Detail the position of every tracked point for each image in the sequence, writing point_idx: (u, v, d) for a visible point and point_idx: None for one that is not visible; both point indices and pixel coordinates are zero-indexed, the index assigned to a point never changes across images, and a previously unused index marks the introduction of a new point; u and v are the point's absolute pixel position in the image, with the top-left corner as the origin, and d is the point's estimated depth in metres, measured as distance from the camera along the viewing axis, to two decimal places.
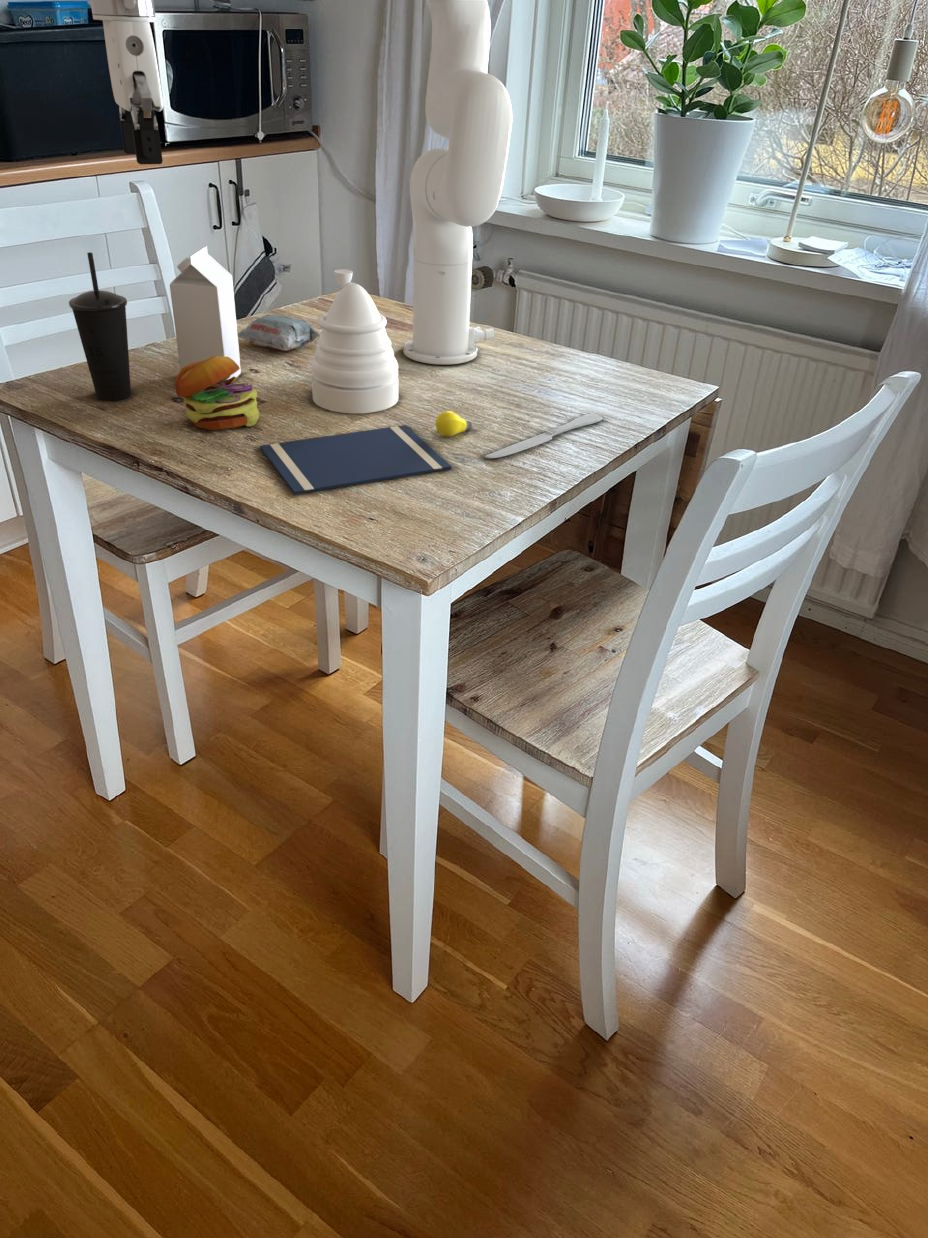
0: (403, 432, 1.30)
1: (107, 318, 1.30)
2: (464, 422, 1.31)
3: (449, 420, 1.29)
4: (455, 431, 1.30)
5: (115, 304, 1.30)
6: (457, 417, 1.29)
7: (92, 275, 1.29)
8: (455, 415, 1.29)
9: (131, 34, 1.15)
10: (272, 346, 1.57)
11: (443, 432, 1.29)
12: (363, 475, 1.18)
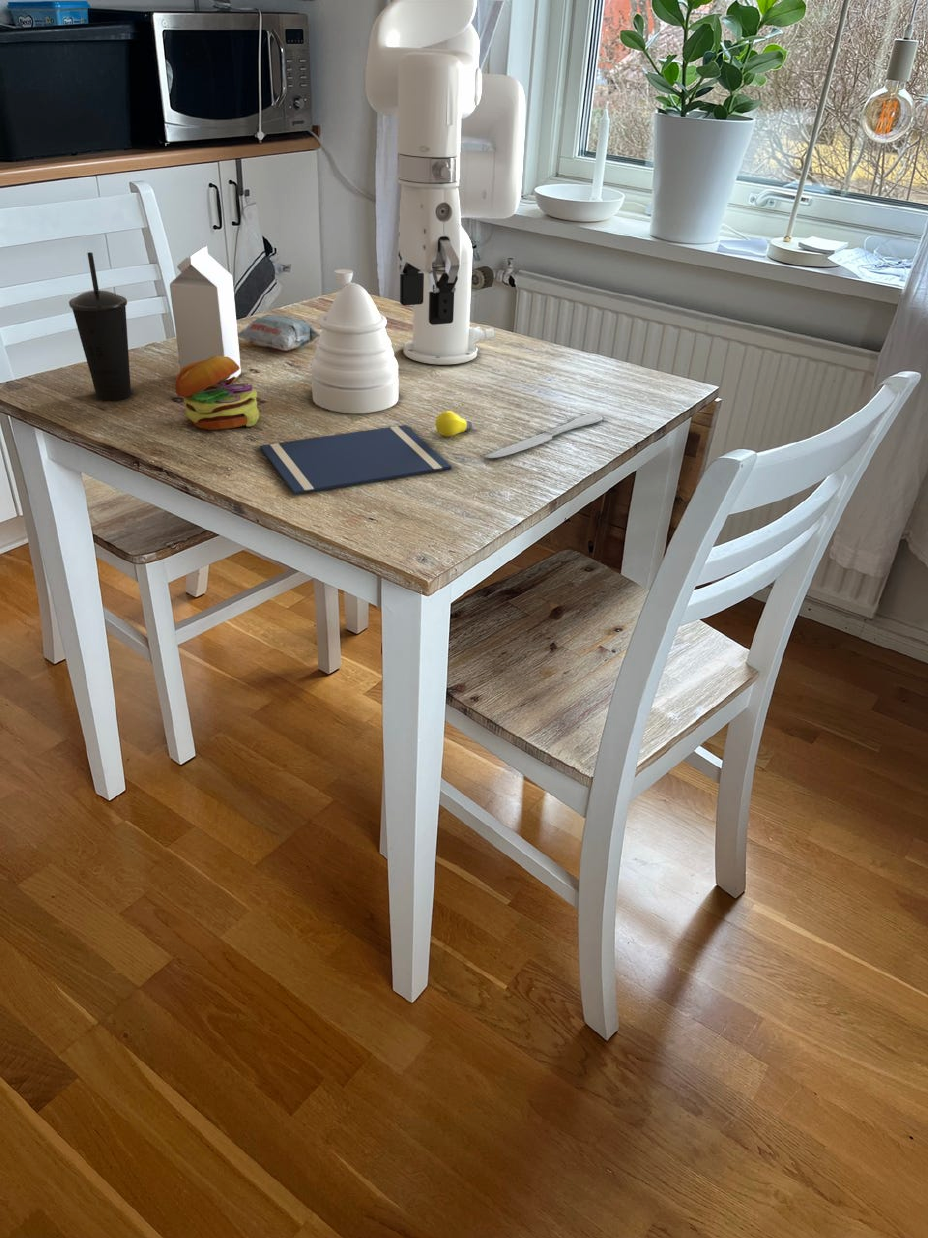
0: (403, 432, 1.30)
1: (107, 318, 1.30)
2: (464, 422, 1.31)
3: (449, 420, 1.29)
4: (455, 431, 1.30)
5: (115, 304, 1.30)
6: (457, 417, 1.29)
7: (92, 275, 1.29)
8: (455, 415, 1.29)
9: (442, 201, 1.13)
10: (272, 346, 1.57)
11: (443, 432, 1.29)
12: (363, 475, 1.18)
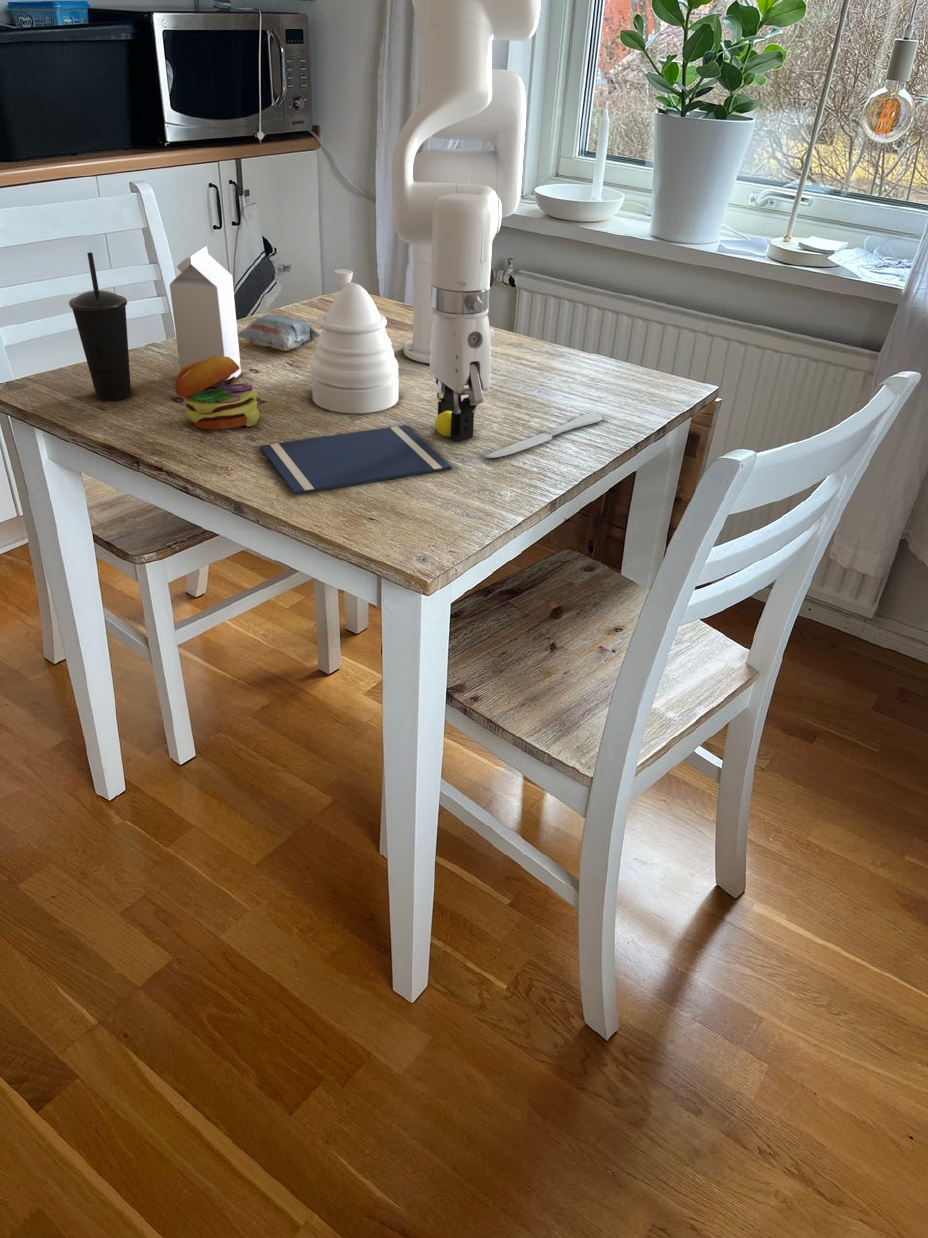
0: (403, 432, 1.30)
1: (107, 318, 1.30)
2: None
3: (448, 420, 1.29)
4: None
5: (115, 304, 1.30)
6: None
7: (92, 275, 1.29)
8: None
9: (473, 330, 1.20)
10: (272, 346, 1.57)
11: (443, 432, 1.29)
12: (363, 475, 1.18)
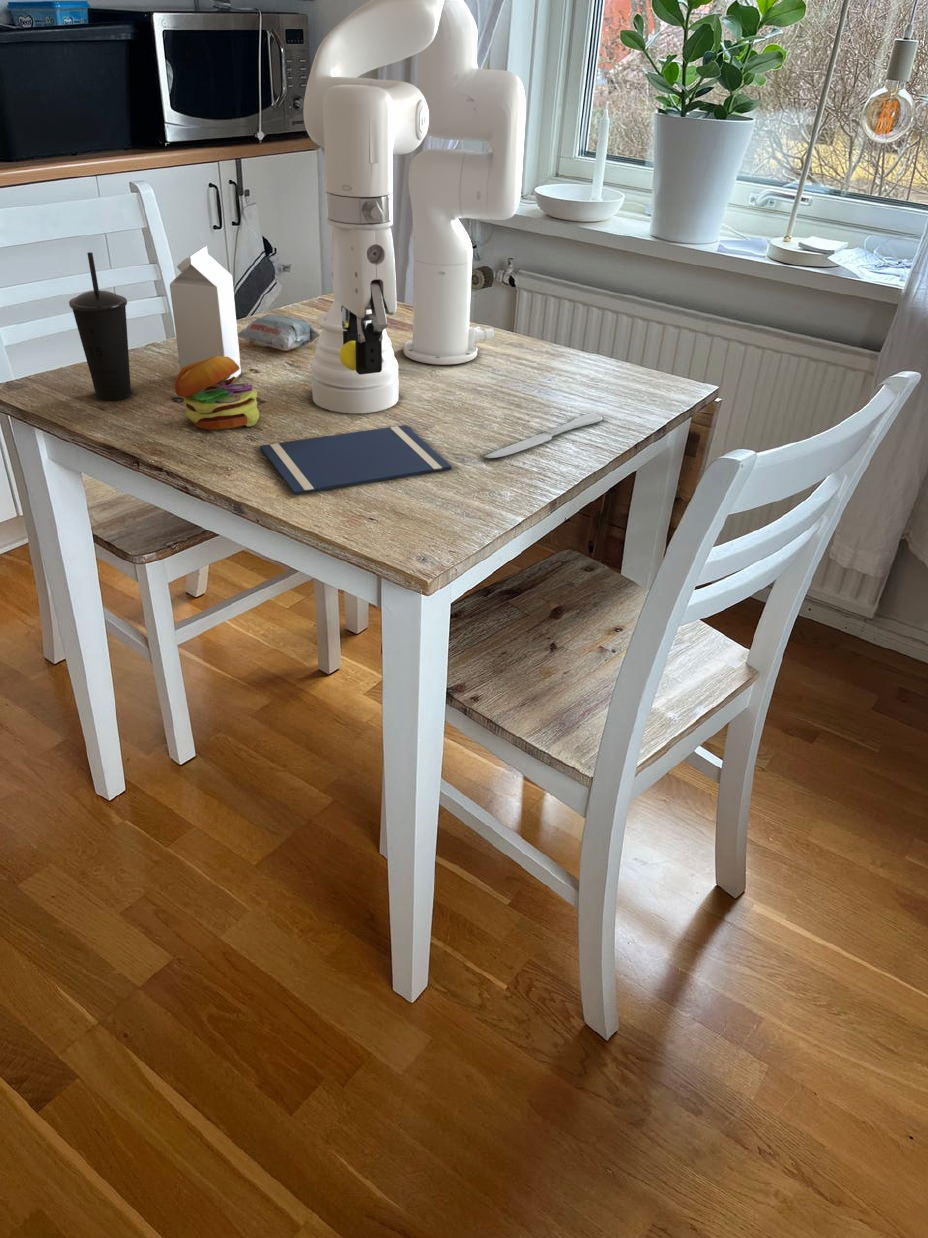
0: (403, 432, 1.30)
1: (107, 318, 1.30)
2: None
3: (353, 351, 1.15)
4: None
5: (115, 304, 1.30)
6: None
7: (92, 275, 1.29)
8: None
9: (373, 243, 1.06)
10: (272, 346, 1.57)
11: (347, 364, 1.15)
12: (363, 475, 1.18)
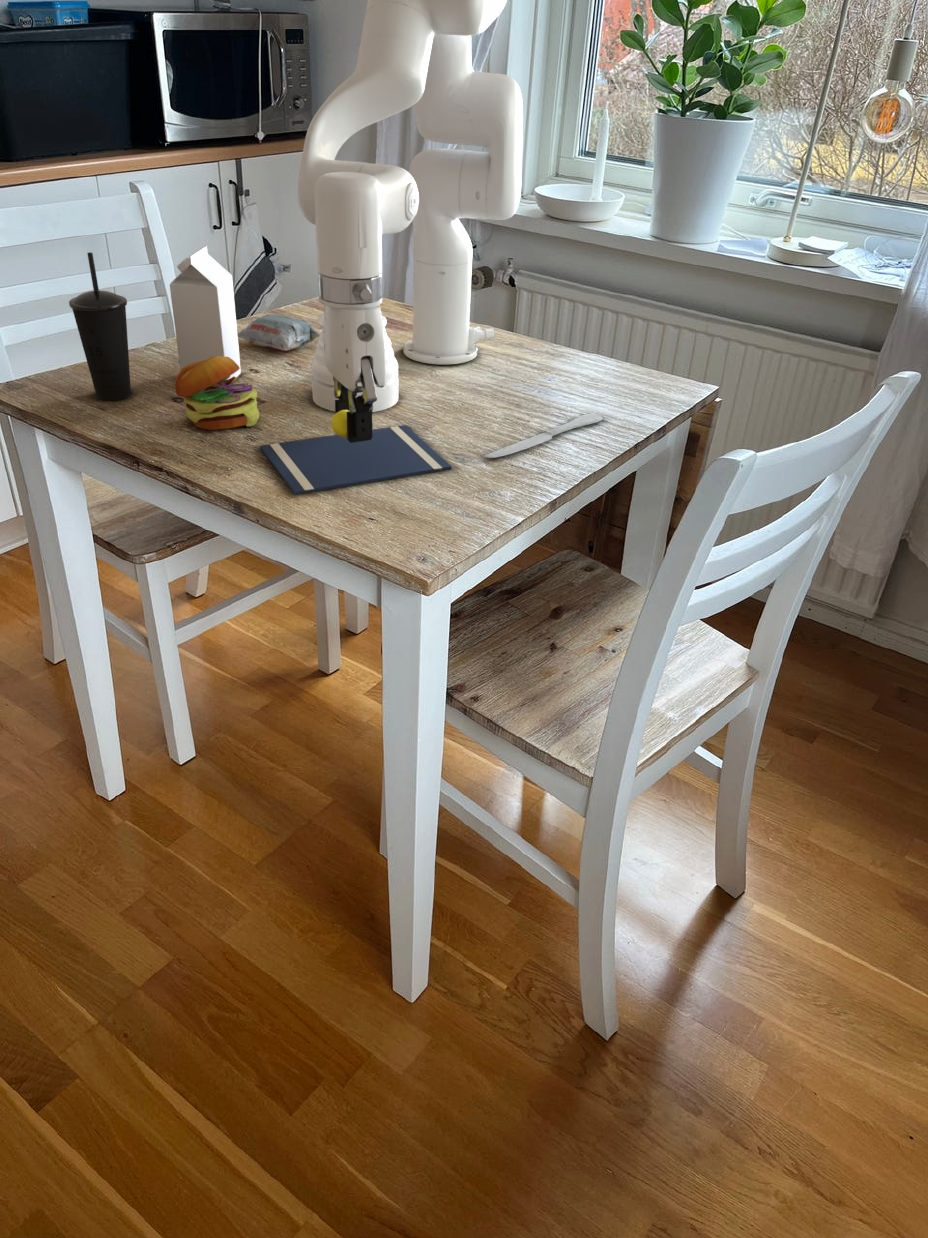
0: (403, 432, 1.30)
1: (107, 318, 1.30)
2: None
3: (344, 420, 1.18)
4: None
5: (115, 304, 1.30)
6: None
7: (92, 275, 1.29)
8: None
9: (363, 322, 1.09)
10: (272, 346, 1.57)
11: (339, 433, 1.19)
12: (363, 475, 1.18)
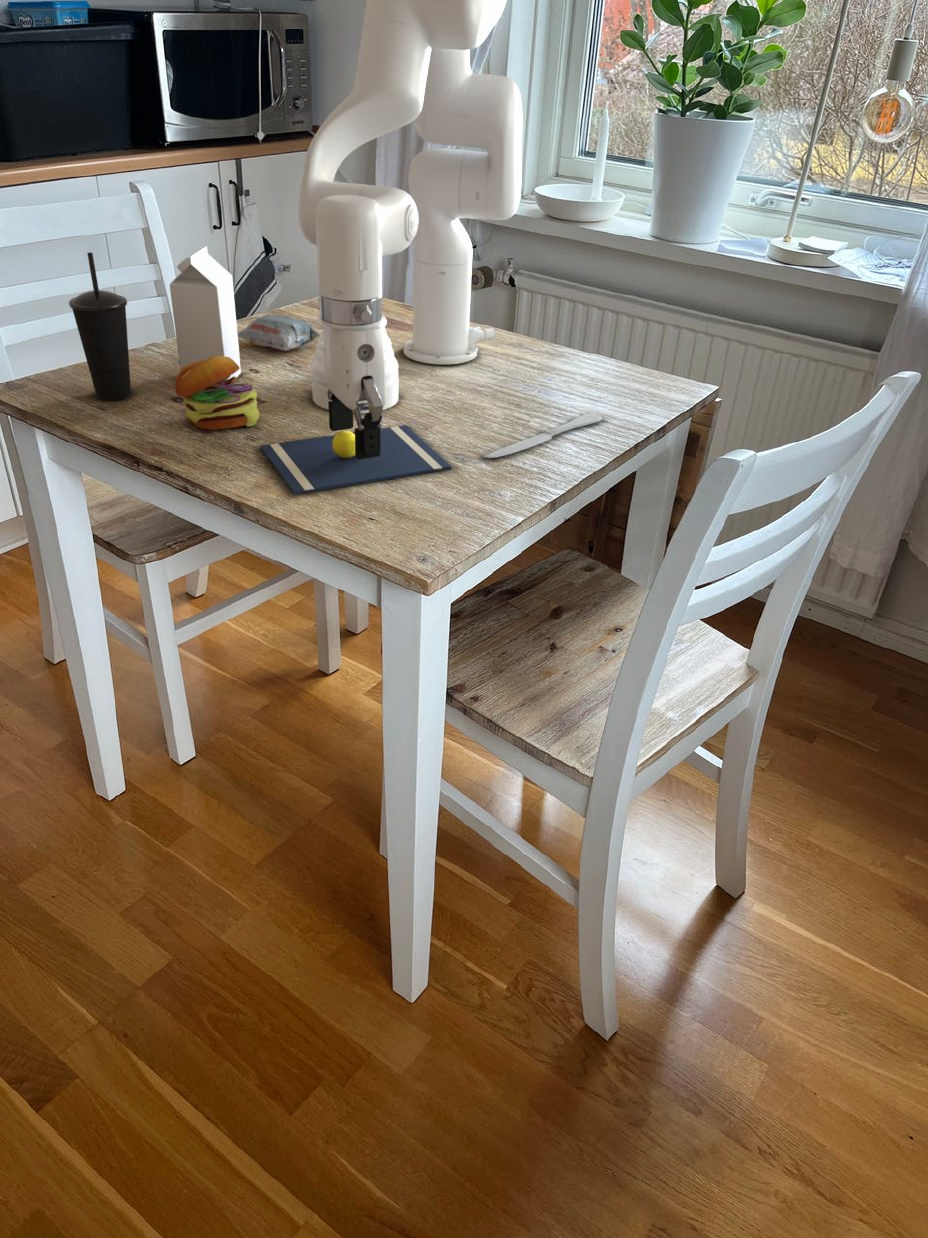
0: (403, 432, 1.30)
1: (107, 318, 1.30)
2: None
3: (345, 441, 1.20)
4: (353, 452, 1.21)
5: (115, 304, 1.30)
6: None
7: (92, 275, 1.29)
8: (353, 435, 1.21)
9: (363, 343, 1.11)
10: (272, 346, 1.57)
11: (340, 453, 1.21)
12: (363, 475, 1.18)
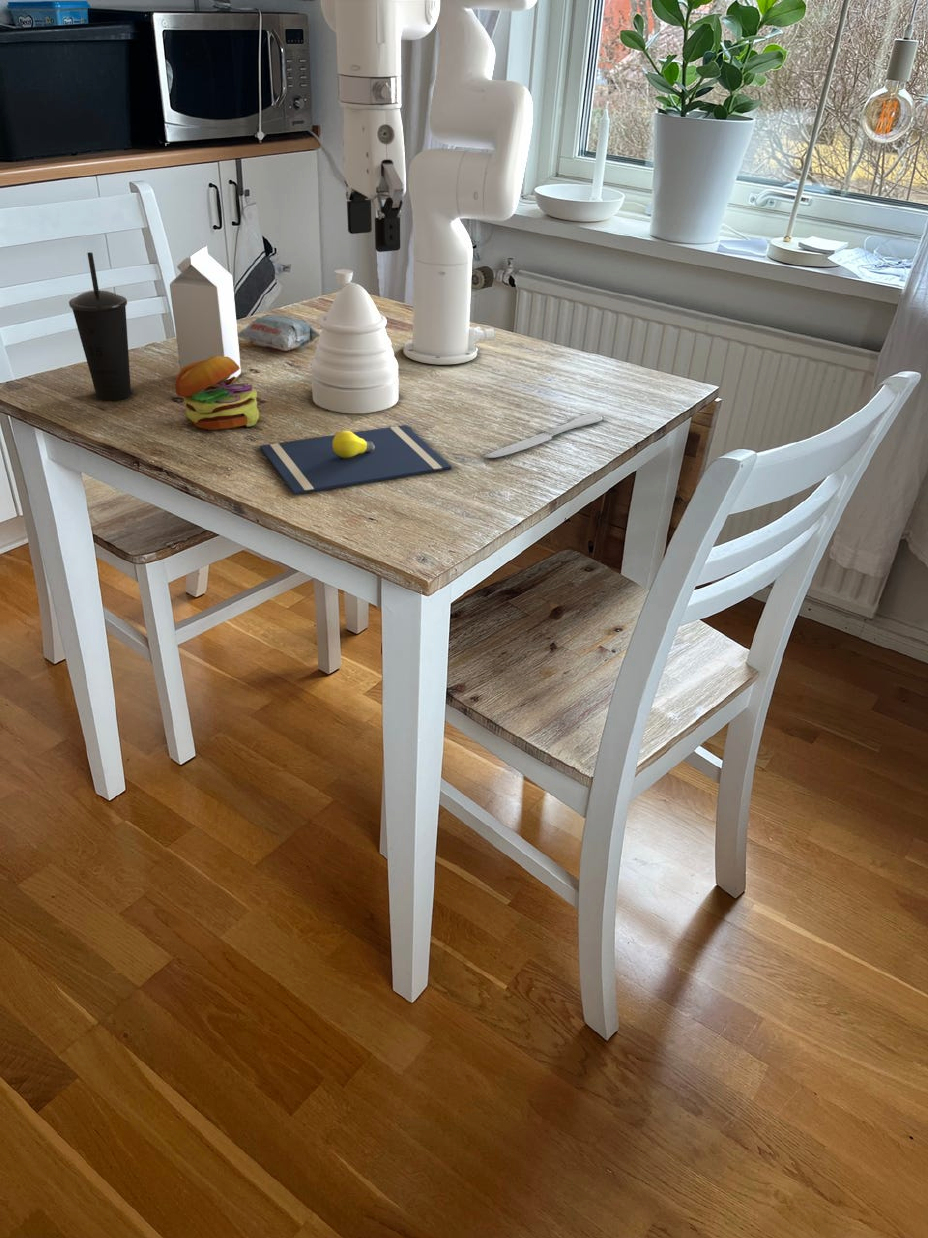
0: (403, 432, 1.30)
1: (107, 318, 1.30)
2: (364, 443, 1.22)
3: (345, 441, 1.20)
4: (353, 452, 1.21)
5: (115, 304, 1.30)
6: (355, 437, 1.21)
7: (92, 275, 1.29)
8: (353, 435, 1.21)
9: (383, 123, 1.11)
10: (272, 346, 1.57)
11: (340, 453, 1.21)
12: (363, 475, 1.18)
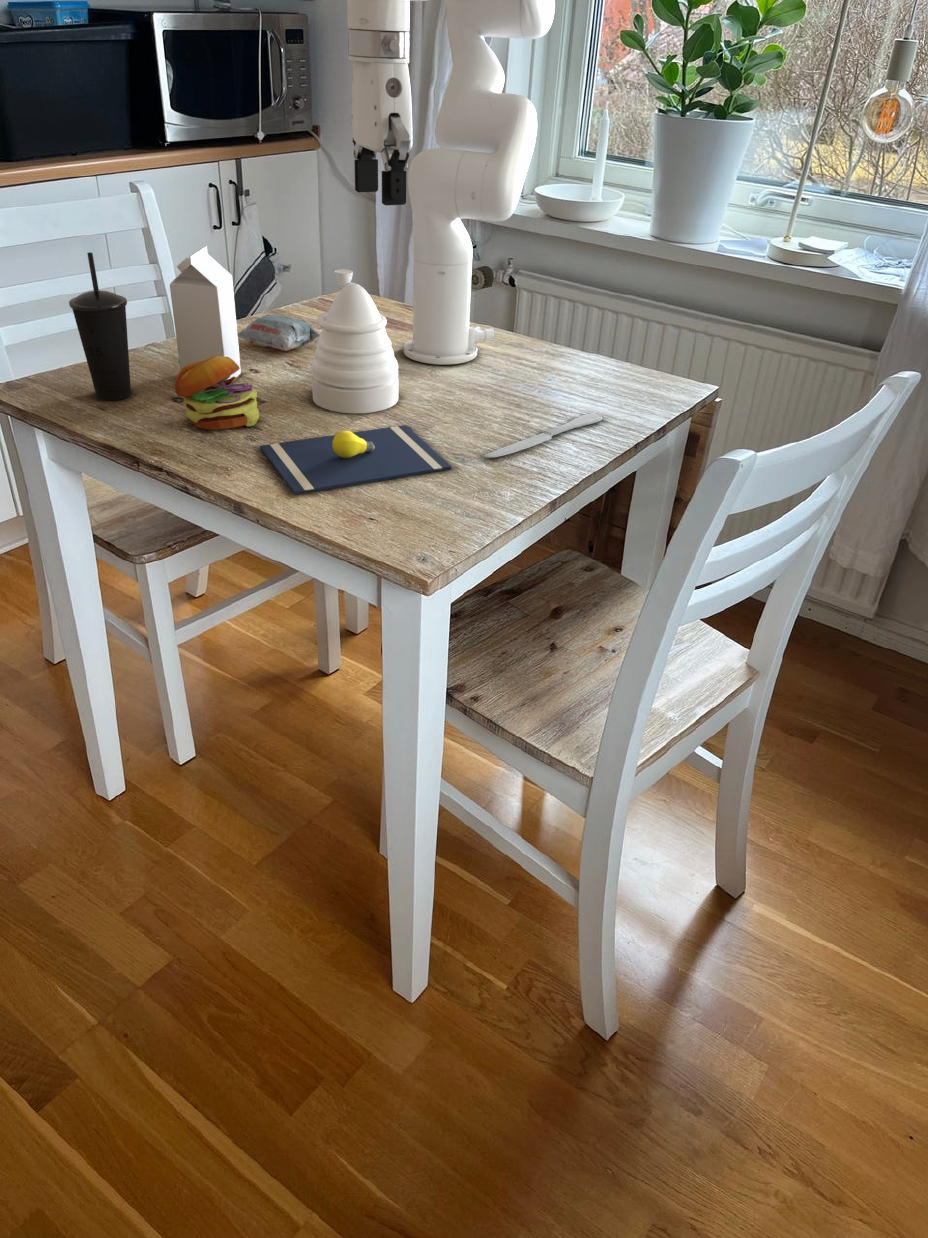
0: (403, 432, 1.30)
1: (107, 318, 1.30)
2: (364, 443, 1.22)
3: (345, 441, 1.20)
4: (353, 452, 1.21)
5: (115, 304, 1.30)
6: (355, 437, 1.21)
7: (92, 275, 1.29)
8: (353, 435, 1.21)
9: (391, 76, 1.14)
10: (272, 346, 1.57)
11: (340, 453, 1.21)
12: (363, 475, 1.18)
